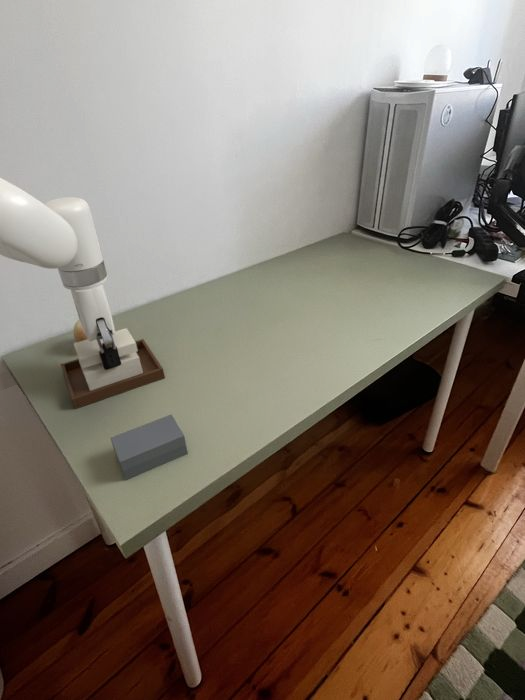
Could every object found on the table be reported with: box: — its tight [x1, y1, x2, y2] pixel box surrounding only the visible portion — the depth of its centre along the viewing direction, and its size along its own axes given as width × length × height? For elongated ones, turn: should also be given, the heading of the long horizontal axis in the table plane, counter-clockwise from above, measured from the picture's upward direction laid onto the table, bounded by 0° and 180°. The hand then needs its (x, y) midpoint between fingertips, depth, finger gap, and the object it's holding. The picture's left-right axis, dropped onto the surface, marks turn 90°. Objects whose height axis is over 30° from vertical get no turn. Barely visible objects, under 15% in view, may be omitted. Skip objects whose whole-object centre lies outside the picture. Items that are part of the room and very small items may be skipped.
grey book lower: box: [112, 444, 188, 481], centre depth 69 cm, size 10×6×2 cm, turn 120°
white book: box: [73, 327, 138, 368], centre depth 84 cm, size 10×7×2 cm, turn 120°
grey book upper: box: [110, 414, 187, 471], centre depth 67 cm, size 10×6×2 cm, turn 120°
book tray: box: [60, 338, 166, 410], centre depth 87 cm, size 17×13×2 cm
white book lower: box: [83, 365, 143, 391], centre depth 87 cm, size 10×7×2 cm, turn 120°
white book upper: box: [77, 352, 141, 383], centre depth 85 cm, size 10×7×2 cm, turn 120°
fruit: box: [73, 319, 87, 343], centre depth 95 cm, size 8×7×8 cm
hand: (108, 357), depth 85 cm, fingers closed on white book, 6 cm apart
